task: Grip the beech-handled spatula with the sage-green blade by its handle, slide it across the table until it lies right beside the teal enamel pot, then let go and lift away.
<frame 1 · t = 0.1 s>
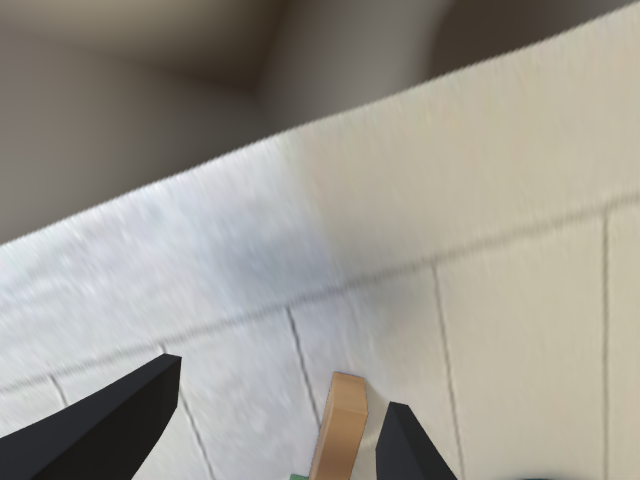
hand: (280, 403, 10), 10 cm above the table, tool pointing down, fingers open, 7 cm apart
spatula: (327, 461, 23), on the table
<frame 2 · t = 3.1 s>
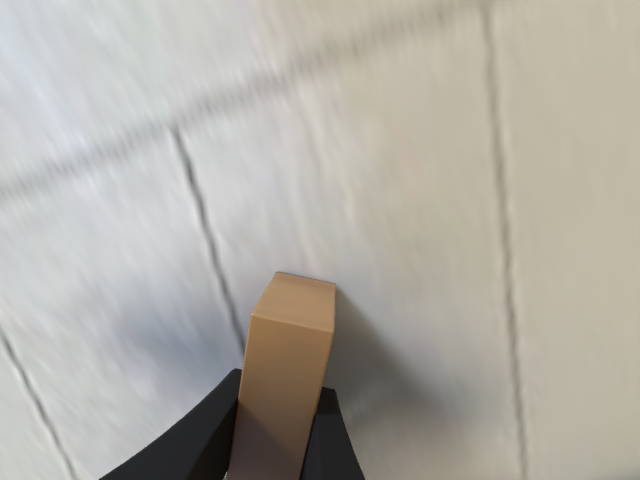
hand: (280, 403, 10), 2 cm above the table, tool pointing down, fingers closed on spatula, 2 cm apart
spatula: (272, 451, 13), on the table, touching gripper
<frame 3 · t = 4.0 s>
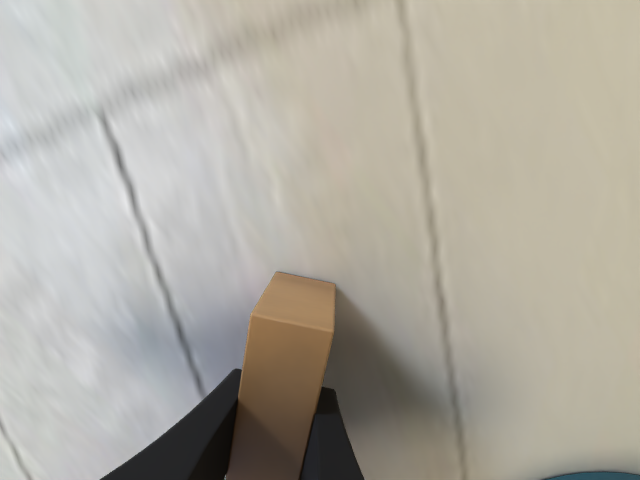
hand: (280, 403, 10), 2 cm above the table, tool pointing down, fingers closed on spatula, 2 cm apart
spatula: (271, 451, 13), on the table, touching gripper
when the fingers open (2 cm above the table, at t = 5.4 s): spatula stays where it is, on the table.
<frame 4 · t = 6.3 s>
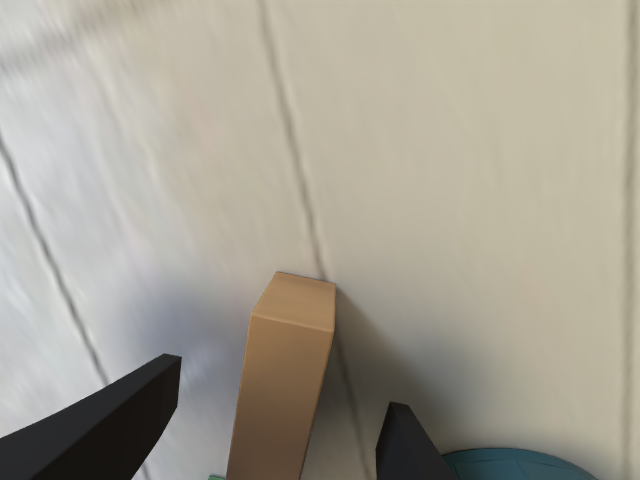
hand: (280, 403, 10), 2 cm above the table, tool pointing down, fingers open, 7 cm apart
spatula: (272, 451, 13), on the table
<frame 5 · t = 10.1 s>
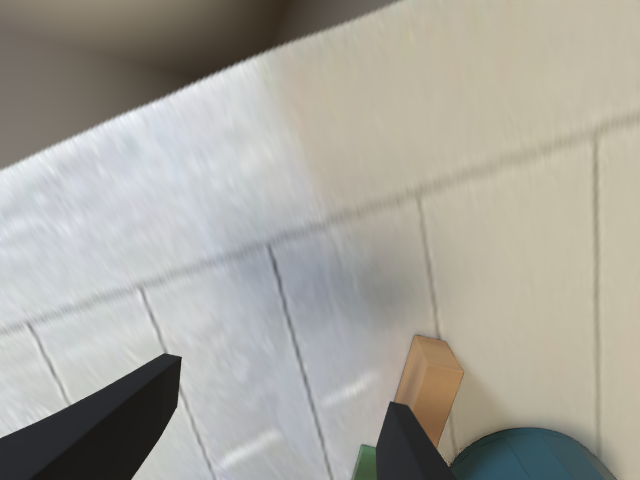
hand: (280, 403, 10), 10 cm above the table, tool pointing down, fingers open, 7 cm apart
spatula: (400, 430, 23), on the table
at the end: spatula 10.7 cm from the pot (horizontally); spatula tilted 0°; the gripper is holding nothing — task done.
